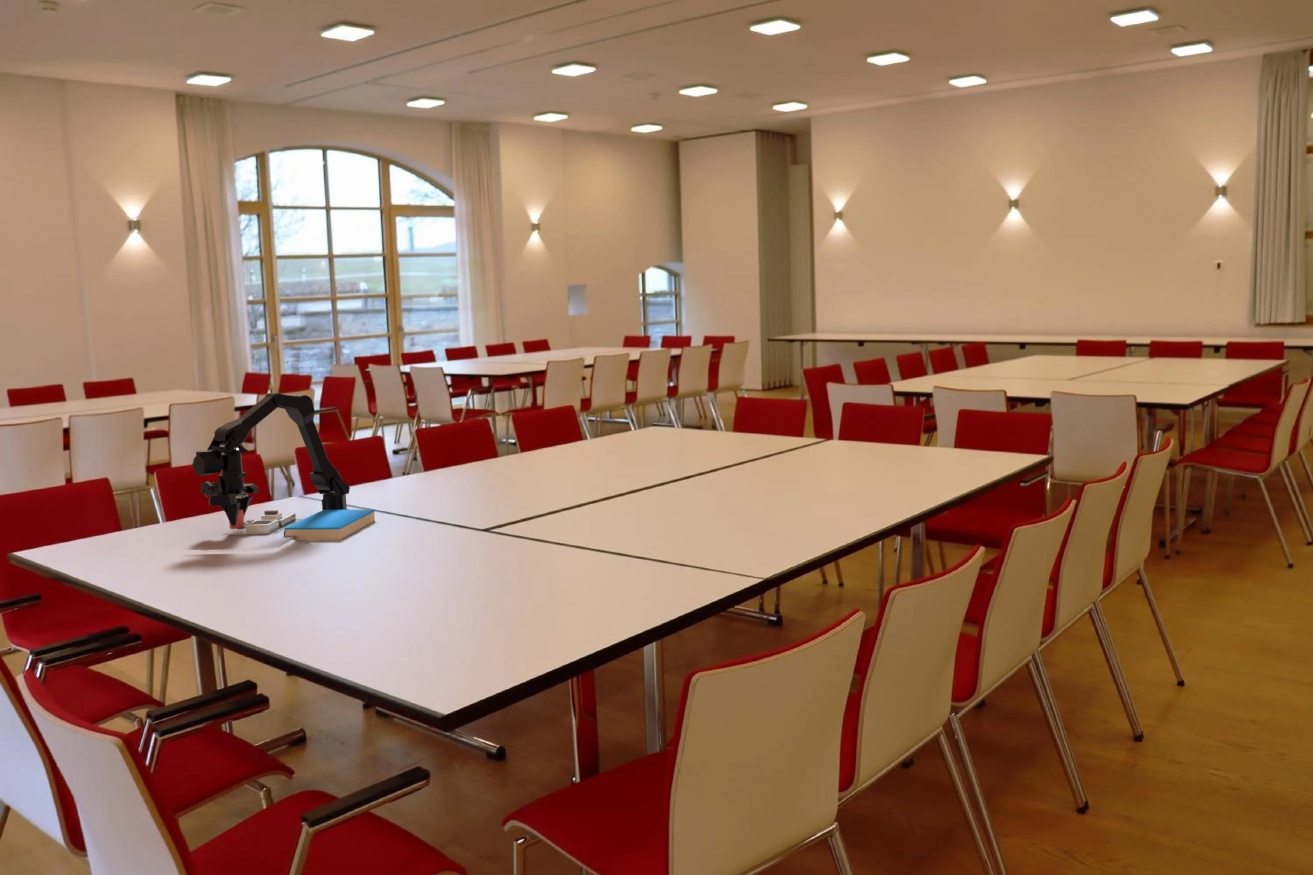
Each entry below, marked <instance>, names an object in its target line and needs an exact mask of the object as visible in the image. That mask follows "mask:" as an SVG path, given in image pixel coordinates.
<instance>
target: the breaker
mask: <svg viewBox="0 0 1313 875" xmlns="http://www.w3.org/2000/svg"><path fill="white" fill-rule="evenodd" d="M282 518H283V512H279V510H276V509H275V510H272V509H271V510H265V511H264V514H262V515H260V519H261V520H280V519H282Z"/></svg>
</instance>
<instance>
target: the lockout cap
mask: <svg viewBox="0 0 1313 875" xmlns="http://www.w3.org/2000/svg"><path fill="white" fill-rule="evenodd" d="M244 522H245V516H244V515H243V509H239V511H238V516H237V521H236V525H235V526H231V524H230V522H229V521H228V524H229V529H230V530H232V529H240V528H244V527H245V526H244Z"/></svg>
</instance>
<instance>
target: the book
mask: <svg viewBox="0 0 1313 875" xmlns="http://www.w3.org/2000/svg"><path fill="white" fill-rule="evenodd" d="M375 512H376V509H372V508H371V509H349V510H321V511H318V512H316V513H314V514H312V515H309V516H307V517H305V518H302V520H301V521H298V522H296V523H294V524H292V525H290V526H287V527H285V529H284V530H283V536H286V537H289V536H292V538H290V539H289V541H309V540H310V541H311V540H313V541H315V540H316V541H318V540H320V541H323V540H324V541H326V540H328V541H329V540H331V541H333V540H334V541H335V540H339V541H340V540H342V539H344V538H346V537H347V536H349V535H351V534H353V533H355V532H356V531H359V530H360V529H361V528H364V527H366V526H368V525H369V524H371V523H373V522H375V521H376V518H375ZM293 536H294V537H293Z"/></svg>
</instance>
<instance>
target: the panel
mask: <svg viewBox="0 0 1313 875" xmlns="http://www.w3.org/2000/svg"><path fill="white" fill-rule="evenodd" d="M301 520H303V518H297V517H296V513H295V512H294V513H290V514H288V515H286V516H284V517H282V519H280V520H261V518H260V519H247V520H245V521H244V526H245V527H244V528H240V529H230V530H229V531H226V532H225V533H222V534H221V536H234V535H235V536H236V535H237V536H238V535H241V536H242V535H276V534H278V533H280V532H282V531H284V530H285V527H287V526H290V525H292V524H294V523H296V522H298V521H301Z"/></svg>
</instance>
